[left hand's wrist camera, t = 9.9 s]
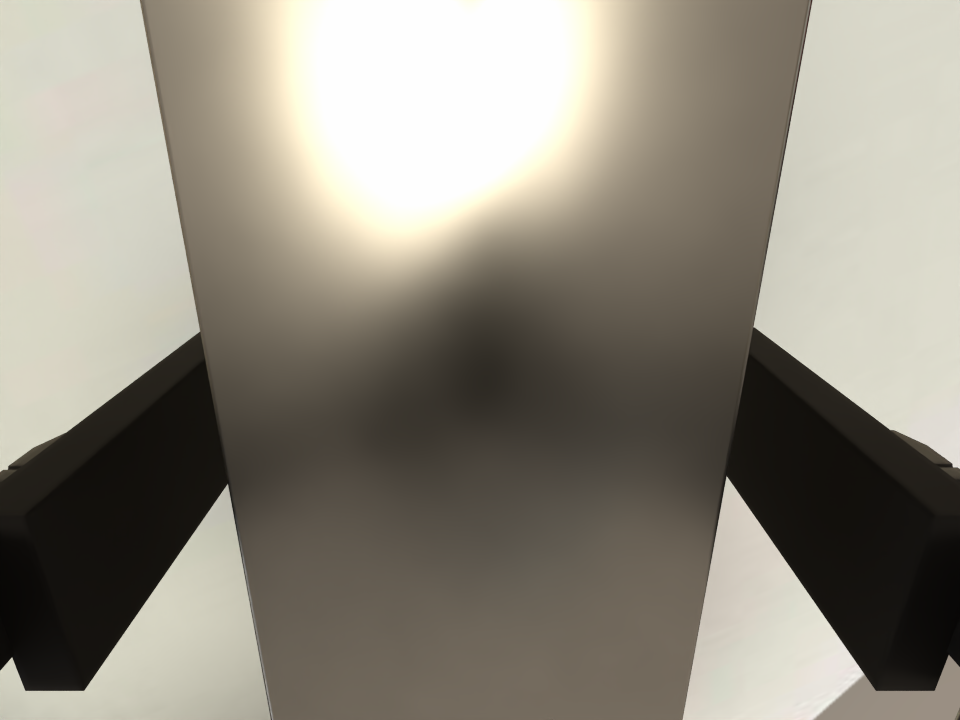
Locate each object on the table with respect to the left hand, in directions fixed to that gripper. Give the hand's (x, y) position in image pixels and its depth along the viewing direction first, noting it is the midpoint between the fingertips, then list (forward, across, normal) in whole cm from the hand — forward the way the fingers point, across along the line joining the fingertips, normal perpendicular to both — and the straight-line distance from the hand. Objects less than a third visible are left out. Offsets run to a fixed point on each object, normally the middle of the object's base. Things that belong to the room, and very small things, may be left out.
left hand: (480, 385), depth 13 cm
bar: (+2, 0, -7) cm, 8 cm away
